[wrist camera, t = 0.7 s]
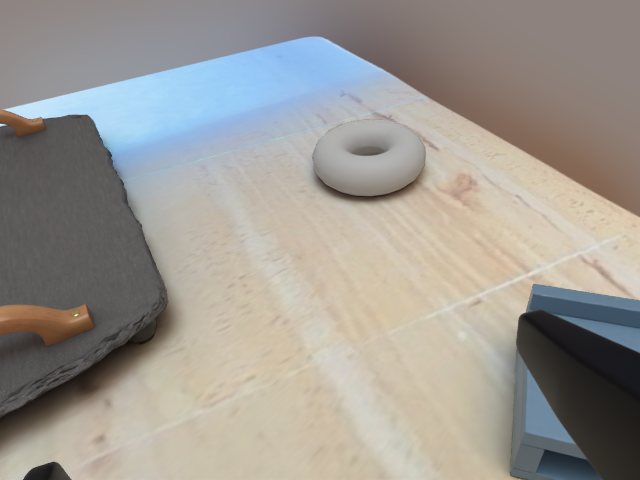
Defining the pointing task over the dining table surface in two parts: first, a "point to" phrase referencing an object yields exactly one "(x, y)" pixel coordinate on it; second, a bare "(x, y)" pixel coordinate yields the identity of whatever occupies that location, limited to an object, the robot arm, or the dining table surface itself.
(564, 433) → the riser
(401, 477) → the dining table surface
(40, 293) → the serving tray
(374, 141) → the donut
